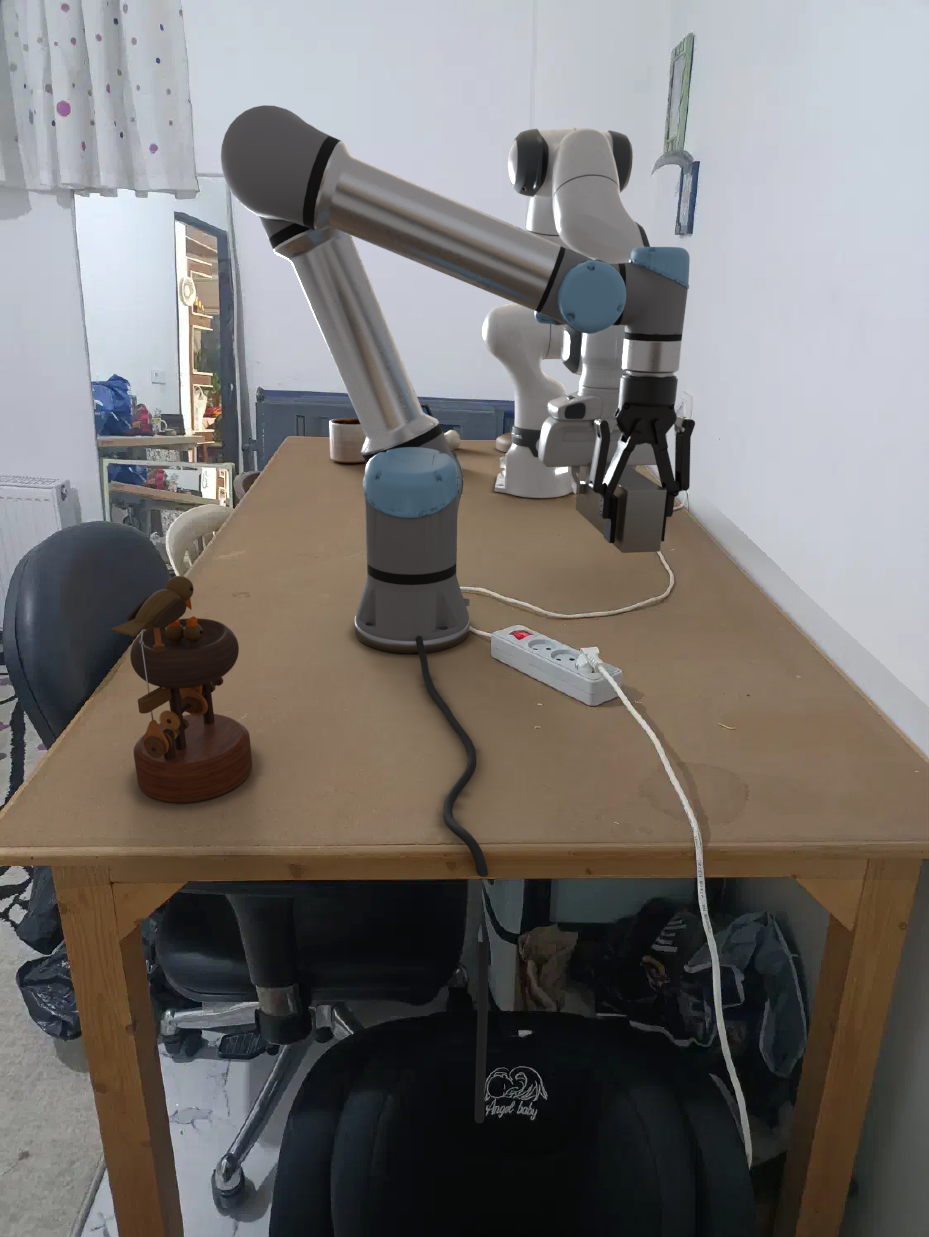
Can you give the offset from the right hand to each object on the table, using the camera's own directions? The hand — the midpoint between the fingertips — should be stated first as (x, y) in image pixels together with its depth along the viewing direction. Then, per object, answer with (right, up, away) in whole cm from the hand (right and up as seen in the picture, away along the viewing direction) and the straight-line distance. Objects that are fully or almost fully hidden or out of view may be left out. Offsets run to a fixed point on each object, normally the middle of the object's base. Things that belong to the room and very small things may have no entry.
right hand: (599, 493), depth 135 cm
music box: (-47, -35, -54) cm, 80 cm away
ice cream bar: (-2, +24, +90) cm, 93 cm away
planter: (-50, +20, +79) cm, 96 cm away
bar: (+1, -6, -6) cm, 9 cm away
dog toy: (-33, +26, +94) cm, 103 cm away
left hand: (+3, -9, -14) cm, 17 cm away
